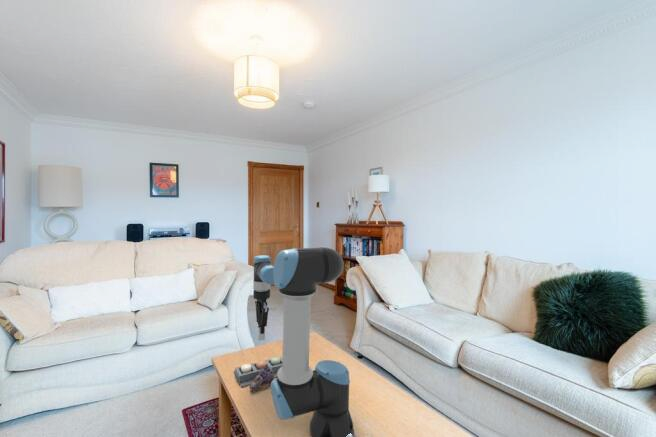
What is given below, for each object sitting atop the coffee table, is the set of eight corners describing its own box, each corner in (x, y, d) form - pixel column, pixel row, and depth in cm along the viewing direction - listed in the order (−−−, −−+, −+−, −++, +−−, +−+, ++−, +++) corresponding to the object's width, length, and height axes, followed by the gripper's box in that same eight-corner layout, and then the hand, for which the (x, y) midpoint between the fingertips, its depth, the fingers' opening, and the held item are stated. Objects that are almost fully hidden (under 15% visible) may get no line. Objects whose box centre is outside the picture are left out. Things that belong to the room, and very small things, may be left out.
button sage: (281, 364, 144) (281, 359, 144) (272, 367, 142) (272, 362, 142) (278, 360, 148) (278, 355, 148) (269, 362, 146) (269, 358, 146)
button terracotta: (267, 368, 141) (267, 363, 141) (258, 371, 138) (258, 366, 138) (264, 364, 144) (264, 359, 144) (255, 366, 142) (255, 361, 142)
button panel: (289, 374, 141) (289, 366, 141) (241, 387, 130) (241, 379, 130) (278, 360, 153) (278, 353, 153) (233, 372, 142) (233, 364, 142)
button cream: (252, 372, 137) (252, 367, 137) (242, 375, 135) (242, 369, 135) (249, 368, 141) (249, 363, 141) (240, 370, 139) (240, 365, 139)
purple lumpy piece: (254, 396, 125) (254, 382, 124) (243, 386, 130) (244, 373, 129) (277, 382, 134) (277, 370, 133) (266, 374, 139) (267, 362, 138)
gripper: (274, 291, 136) (274, 343, 137) (265, 284, 147) (264, 332, 149) (258, 294, 132) (257, 347, 133) (249, 286, 144) (249, 335, 145)
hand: (261, 339), depth 141 cm, fingers closed
